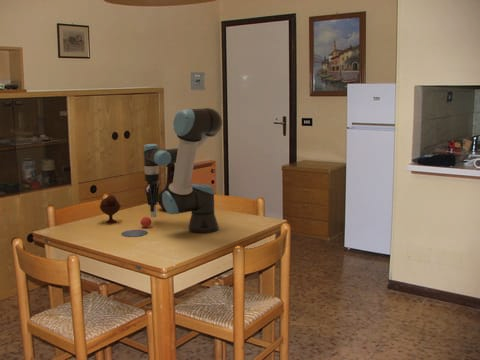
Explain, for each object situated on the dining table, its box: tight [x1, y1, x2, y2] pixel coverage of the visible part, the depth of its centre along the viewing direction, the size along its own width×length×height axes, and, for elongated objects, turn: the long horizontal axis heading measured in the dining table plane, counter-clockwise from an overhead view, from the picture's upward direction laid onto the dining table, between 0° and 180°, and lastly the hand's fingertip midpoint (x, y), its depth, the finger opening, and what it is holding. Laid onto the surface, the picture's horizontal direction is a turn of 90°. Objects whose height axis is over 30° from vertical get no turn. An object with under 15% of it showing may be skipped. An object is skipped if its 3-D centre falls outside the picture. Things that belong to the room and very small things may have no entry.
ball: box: [140, 216, 152, 228], centre depth 295 cm, size 6×6×6 cm
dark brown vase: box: [158, 163, 176, 211], centre depth 333 cm, size 18×18×28 cm
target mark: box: [120, 229, 149, 238], centre depth 283 cm, size 13×13×1 cm
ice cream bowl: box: [99, 194, 122, 224], centre depth 306 cm, size 11×11×15 cm
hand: (153, 216), depth 304 cm, fingers closed
